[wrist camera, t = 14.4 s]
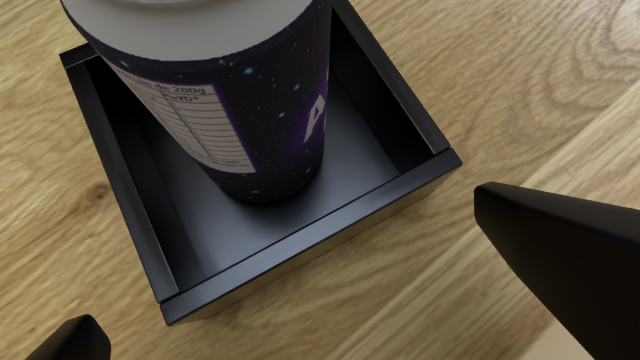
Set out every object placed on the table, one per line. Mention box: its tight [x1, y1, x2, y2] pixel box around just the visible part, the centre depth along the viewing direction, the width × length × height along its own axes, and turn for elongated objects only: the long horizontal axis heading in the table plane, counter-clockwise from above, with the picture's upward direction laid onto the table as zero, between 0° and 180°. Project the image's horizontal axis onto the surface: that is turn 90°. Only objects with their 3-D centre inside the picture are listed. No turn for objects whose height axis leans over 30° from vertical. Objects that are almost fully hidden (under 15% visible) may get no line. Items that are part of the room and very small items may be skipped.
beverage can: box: [60, 0, 332, 202], centre depth 12 cm, size 6×6×12 cm
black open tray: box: [59, 0, 463, 326], centre depth 16 cm, size 12×12×4 cm
